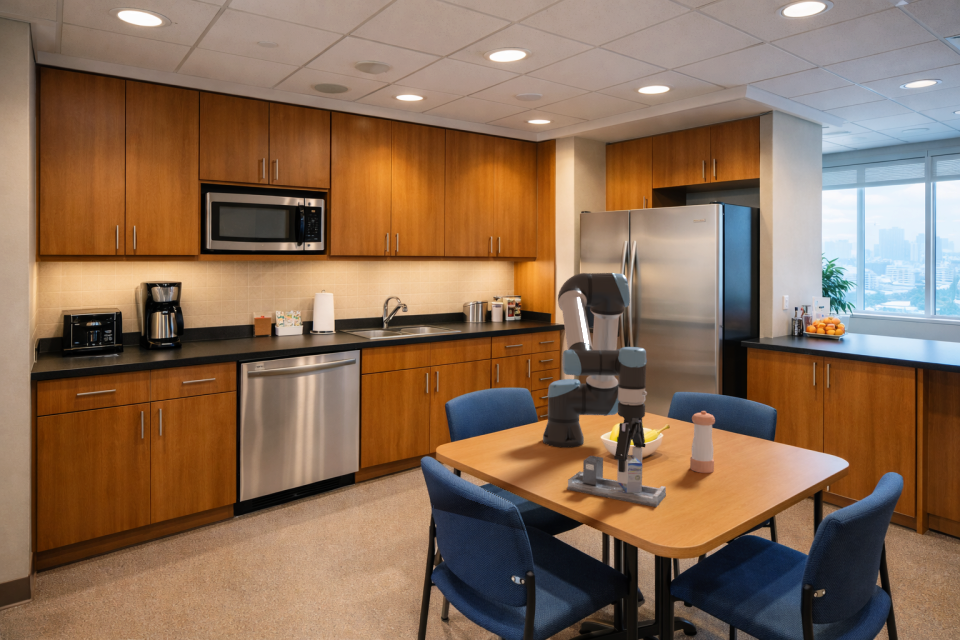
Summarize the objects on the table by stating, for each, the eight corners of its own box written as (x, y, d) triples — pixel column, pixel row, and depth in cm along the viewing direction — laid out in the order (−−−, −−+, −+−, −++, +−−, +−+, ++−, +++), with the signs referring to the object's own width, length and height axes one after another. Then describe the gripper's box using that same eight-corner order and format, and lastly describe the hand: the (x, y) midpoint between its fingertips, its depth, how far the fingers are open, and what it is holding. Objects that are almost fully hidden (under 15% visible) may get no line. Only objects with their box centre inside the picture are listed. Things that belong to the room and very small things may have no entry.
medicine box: (617, 483, 179) (618, 454, 178) (632, 483, 179) (633, 454, 178) (626, 493, 171) (627, 463, 170) (642, 493, 171) (642, 462, 171)
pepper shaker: (718, 472, 195) (720, 413, 194) (697, 473, 194) (699, 414, 193) (706, 465, 202) (708, 408, 201) (685, 466, 201) (687, 408, 200)
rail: (567, 489, 179) (567, 460, 179) (580, 479, 188) (580, 451, 187) (656, 507, 166) (657, 475, 165) (665, 495, 175) (666, 465, 174)
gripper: (631, 412, 160) (629, 491, 162) (656, 396, 182) (654, 466, 183) (603, 409, 164) (602, 486, 166) (631, 393, 186) (630, 461, 187)
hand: (629, 475), depth 175 cm, fingers open, 13 cm apart
